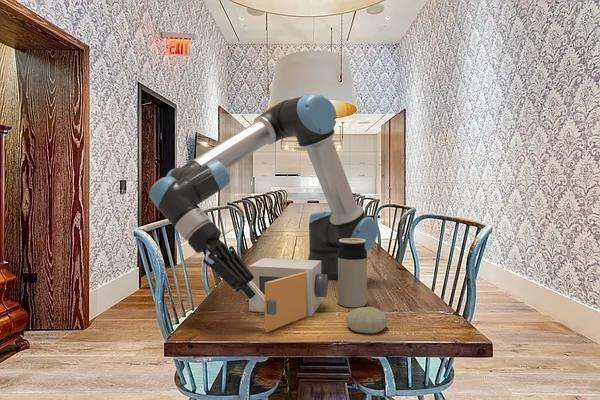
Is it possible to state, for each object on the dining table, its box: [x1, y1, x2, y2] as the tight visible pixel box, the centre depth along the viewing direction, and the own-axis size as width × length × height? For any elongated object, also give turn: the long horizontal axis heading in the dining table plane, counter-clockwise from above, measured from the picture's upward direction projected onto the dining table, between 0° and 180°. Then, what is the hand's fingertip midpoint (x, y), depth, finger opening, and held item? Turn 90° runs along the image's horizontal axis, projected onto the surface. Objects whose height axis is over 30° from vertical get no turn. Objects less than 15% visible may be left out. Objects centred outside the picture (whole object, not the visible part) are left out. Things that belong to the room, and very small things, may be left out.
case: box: [248, 257, 329, 318], centre depth 118 cm, size 19×13×12 cm
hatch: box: [264, 272, 307, 332], centre depth 103 cm, size 14×2×11 cm, turn 141°
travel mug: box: [337, 238, 368, 309], centre depth 121 cm, size 8×8×18 cm
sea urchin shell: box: [345, 306, 388, 334], centre depth 102 cm, size 9×8×8 cm
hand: (264, 306), depth 101 cm, fingers closed
